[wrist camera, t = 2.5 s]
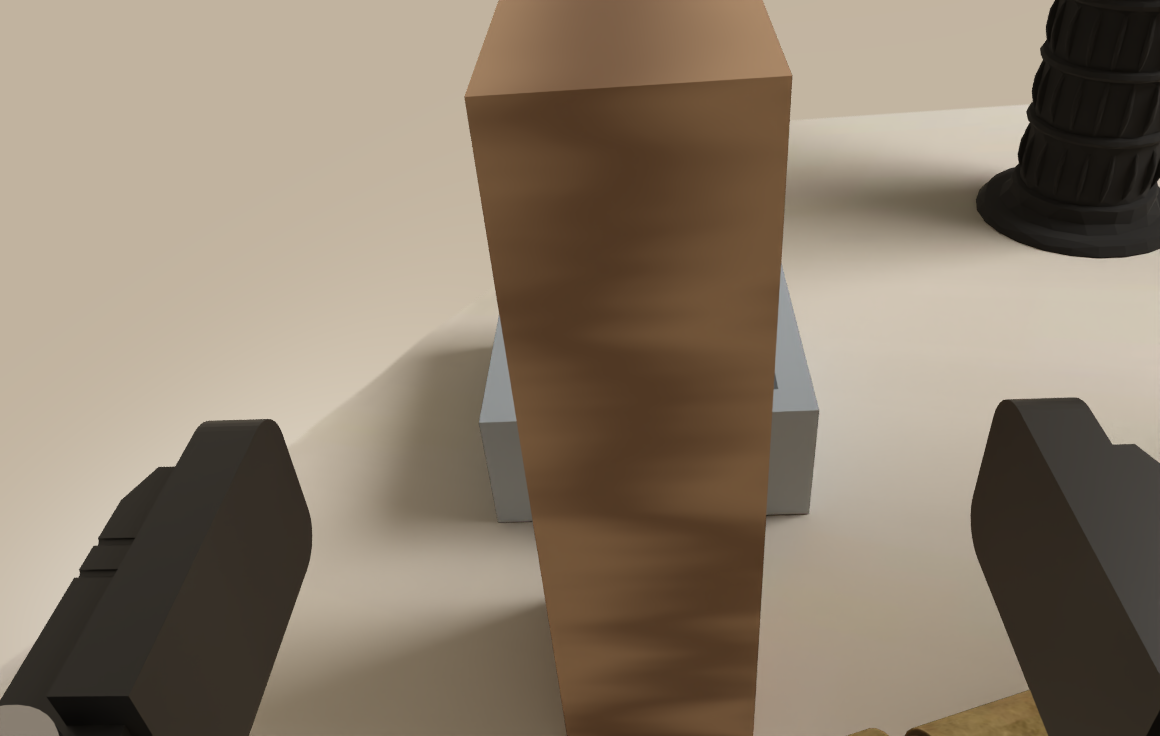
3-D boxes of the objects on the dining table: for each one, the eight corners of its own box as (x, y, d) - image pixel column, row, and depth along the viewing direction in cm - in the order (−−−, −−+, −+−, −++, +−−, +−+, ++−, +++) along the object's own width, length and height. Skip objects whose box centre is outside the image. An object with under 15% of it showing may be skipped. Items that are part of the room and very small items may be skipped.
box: (769, 331, 44) (774, 237, 40) (809, 513, 34) (819, 410, 31) (524, 342, 44) (510, 251, 41) (497, 522, 35) (478, 422, 32)
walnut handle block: (735, 590, 32) (754, -19, 20) (753, 739, 28) (792, 75, 15) (575, 593, 32) (498, 0, 20) (568, 740, 28) (464, 96, 16)
